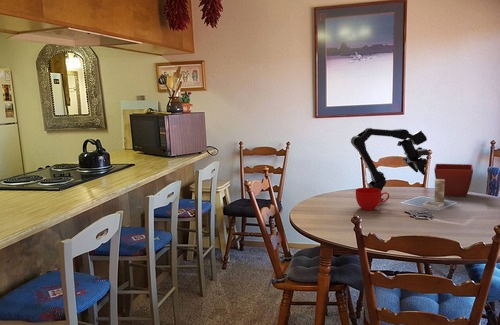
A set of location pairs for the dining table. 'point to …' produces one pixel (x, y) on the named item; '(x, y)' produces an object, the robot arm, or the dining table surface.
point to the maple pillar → (439, 190)
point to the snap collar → (433, 205)
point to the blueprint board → (421, 199)
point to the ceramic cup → (369, 198)
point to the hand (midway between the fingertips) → (420, 173)
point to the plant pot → (455, 178)
